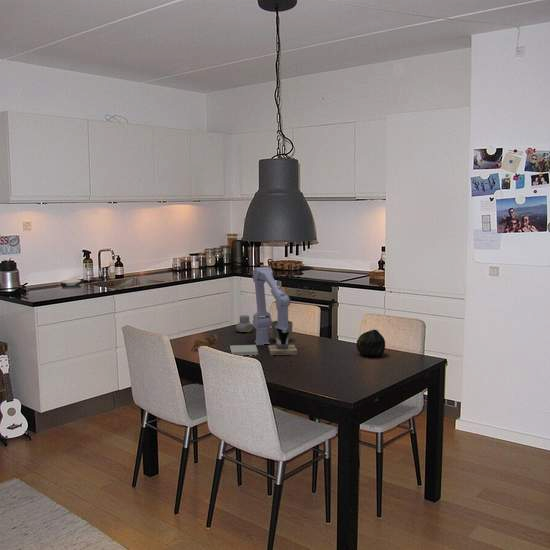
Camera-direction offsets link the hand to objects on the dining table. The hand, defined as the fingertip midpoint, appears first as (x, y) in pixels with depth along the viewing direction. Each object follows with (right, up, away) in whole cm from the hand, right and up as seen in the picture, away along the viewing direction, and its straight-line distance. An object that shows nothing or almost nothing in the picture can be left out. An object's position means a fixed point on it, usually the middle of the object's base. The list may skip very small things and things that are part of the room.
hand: (282, 342), depth 327 cm
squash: (+47, -6, -5) cm, 48 cm away
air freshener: (-23, +1, +49) cm, 54 cm away
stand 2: (0, -5, +1) cm, 5 cm away
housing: (0, -3, 0) cm, 3 cm away
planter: (0, -2, +27) cm, 27 cm away
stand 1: (-21, -5, -1) cm, 22 cm away
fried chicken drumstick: (-42, -5, +4) cm, 43 cm away
